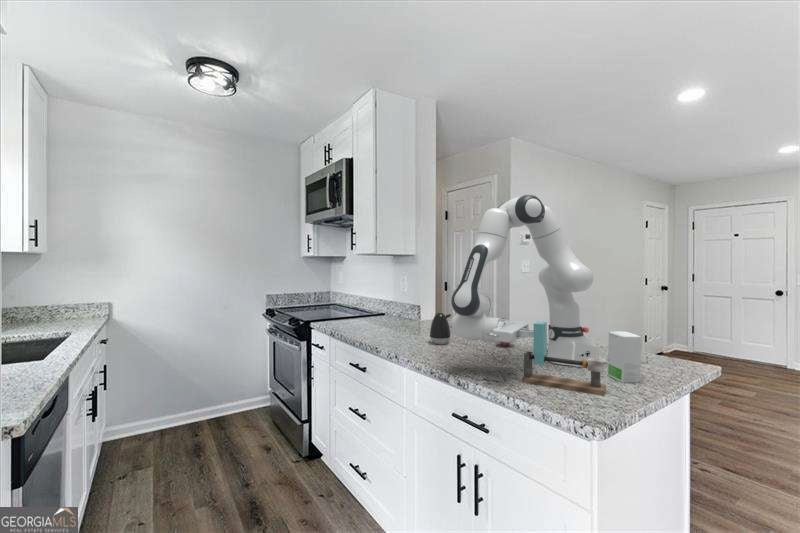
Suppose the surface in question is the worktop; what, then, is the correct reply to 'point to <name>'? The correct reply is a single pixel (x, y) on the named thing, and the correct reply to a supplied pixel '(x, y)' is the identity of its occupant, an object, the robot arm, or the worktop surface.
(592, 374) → the wooden rod holder
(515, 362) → the worktop surface
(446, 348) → the worktop surface
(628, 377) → the skincare box
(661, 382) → the worktop surface
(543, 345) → the teal rectangular block
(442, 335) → the pump dispenser
